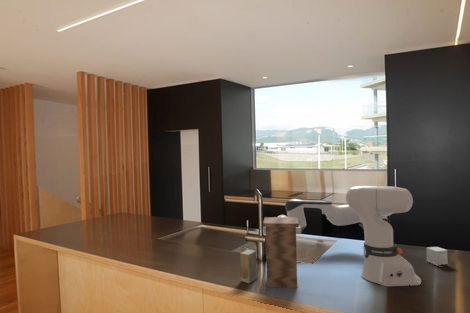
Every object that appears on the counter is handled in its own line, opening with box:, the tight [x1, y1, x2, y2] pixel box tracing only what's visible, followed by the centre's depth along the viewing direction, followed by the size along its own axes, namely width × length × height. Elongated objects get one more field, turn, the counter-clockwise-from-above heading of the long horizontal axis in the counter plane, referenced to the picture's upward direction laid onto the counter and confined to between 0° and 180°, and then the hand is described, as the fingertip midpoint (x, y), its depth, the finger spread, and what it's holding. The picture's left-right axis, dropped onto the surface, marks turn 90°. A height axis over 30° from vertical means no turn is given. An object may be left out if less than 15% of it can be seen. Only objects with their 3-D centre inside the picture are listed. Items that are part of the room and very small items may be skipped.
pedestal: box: [262, 216, 299, 289], centre depth 130 cm, size 14×12×26 cm
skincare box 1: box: [239, 249, 258, 284], centre depth 133 cm, size 6×4×12 cm
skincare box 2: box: [426, 246, 449, 265], centre depth 147 cm, size 6×6×7 cm
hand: (281, 233), depth 160 cm, fingers closed on bar, 2 cm apart
